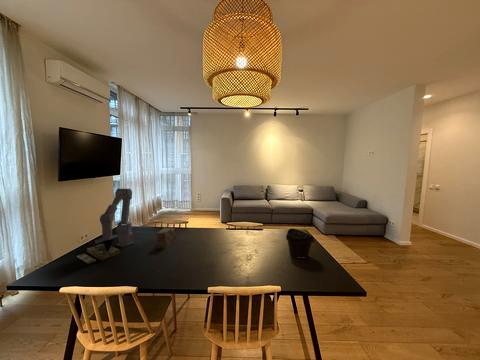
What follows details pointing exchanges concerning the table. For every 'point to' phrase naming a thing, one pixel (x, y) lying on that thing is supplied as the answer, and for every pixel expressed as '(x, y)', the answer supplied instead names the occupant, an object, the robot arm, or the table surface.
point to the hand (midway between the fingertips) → (107, 250)
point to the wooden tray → (102, 252)
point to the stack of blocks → (165, 237)
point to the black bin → (299, 243)
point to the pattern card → (86, 258)
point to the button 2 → (102, 247)
